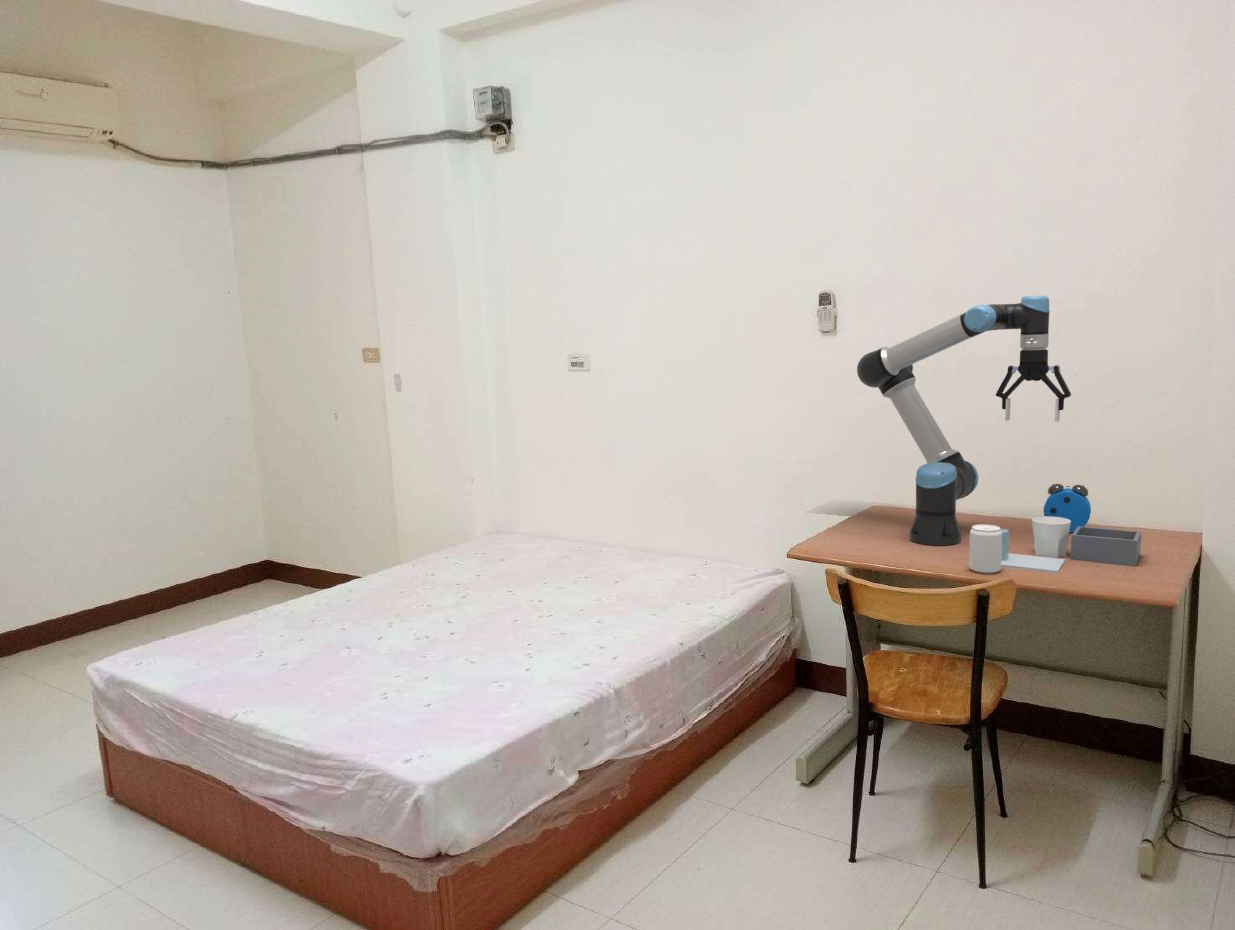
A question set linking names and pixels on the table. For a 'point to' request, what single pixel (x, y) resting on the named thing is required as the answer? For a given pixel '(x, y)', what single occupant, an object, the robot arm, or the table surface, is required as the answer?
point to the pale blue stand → (1027, 559)
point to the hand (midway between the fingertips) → (1032, 421)
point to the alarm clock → (1068, 504)
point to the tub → (1106, 545)
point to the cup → (1050, 536)
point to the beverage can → (985, 548)
